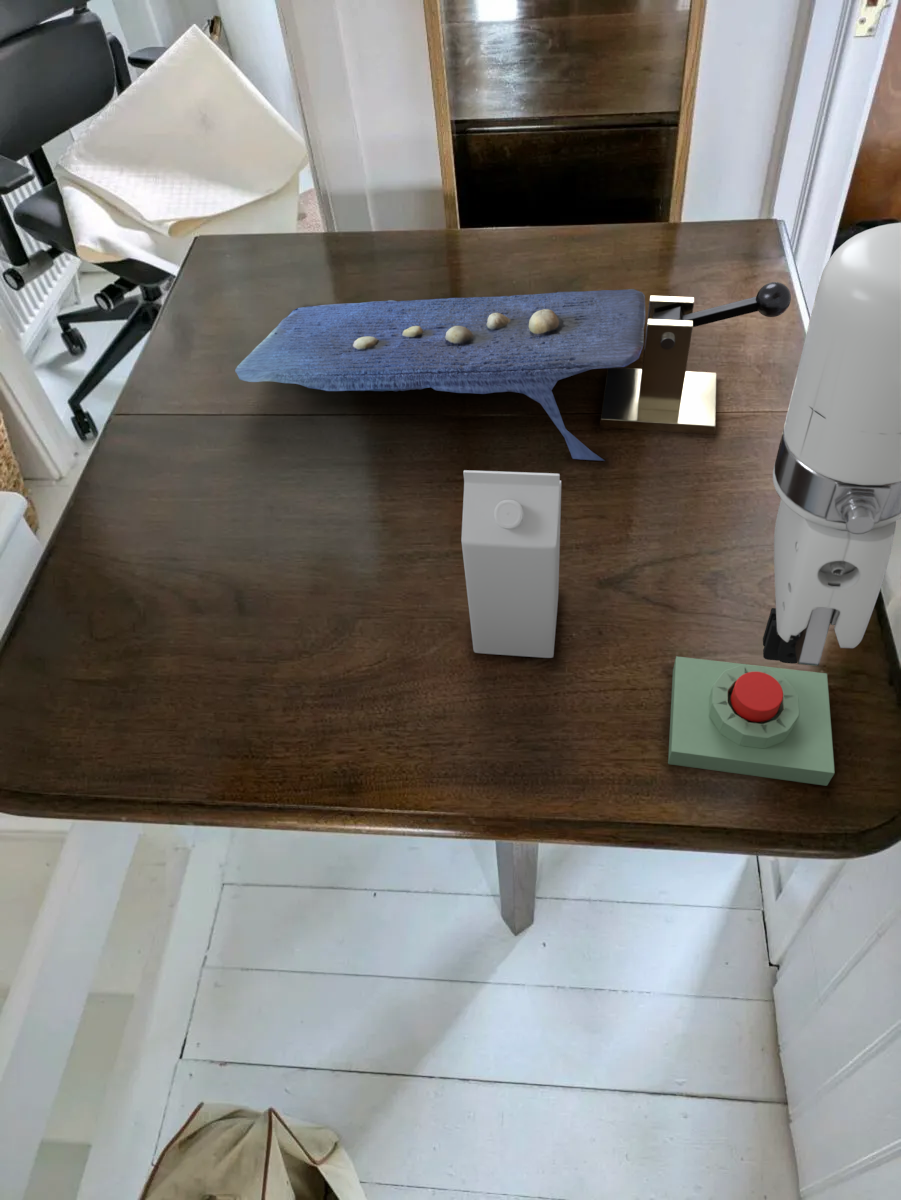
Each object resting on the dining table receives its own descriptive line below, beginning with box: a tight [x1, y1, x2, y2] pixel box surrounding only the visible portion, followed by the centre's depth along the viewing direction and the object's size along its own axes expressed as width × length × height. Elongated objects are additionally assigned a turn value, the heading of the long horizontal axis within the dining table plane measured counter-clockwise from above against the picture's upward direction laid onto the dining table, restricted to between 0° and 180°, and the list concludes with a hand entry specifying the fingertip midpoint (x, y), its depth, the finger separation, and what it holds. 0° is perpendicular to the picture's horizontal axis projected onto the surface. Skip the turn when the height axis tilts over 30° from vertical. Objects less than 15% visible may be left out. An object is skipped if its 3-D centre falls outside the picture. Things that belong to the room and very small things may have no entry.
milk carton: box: [460, 469, 562, 659], centre depth 70 cm, size 7×7×19 cm
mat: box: [234, 288, 646, 462], centre depth 100 cm, size 45×27×12 cm, turn 82°
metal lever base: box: [599, 295, 718, 435], centre depth 90 cm, size 12×9×12 cm
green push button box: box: [667, 655, 835, 786], centre depth 68 cm, size 12×9×4 cm
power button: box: [731, 672, 783, 722], centre depth 66 cm, size 4×4×2 cm
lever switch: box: [653, 281, 792, 328], centre depth 84 cm, size 13×3×3 cm, turn 79°
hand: (785, 651), depth 61 cm, fingers closed
